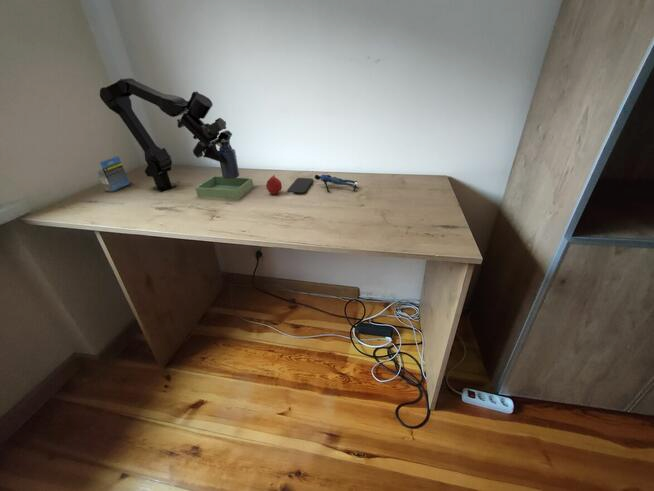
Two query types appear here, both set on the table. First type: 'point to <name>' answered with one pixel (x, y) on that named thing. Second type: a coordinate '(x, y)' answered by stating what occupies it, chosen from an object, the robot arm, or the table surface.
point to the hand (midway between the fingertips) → (231, 160)
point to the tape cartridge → (113, 175)
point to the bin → (224, 187)
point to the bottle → (231, 167)
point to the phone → (300, 185)
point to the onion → (274, 185)
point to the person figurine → (336, 181)
